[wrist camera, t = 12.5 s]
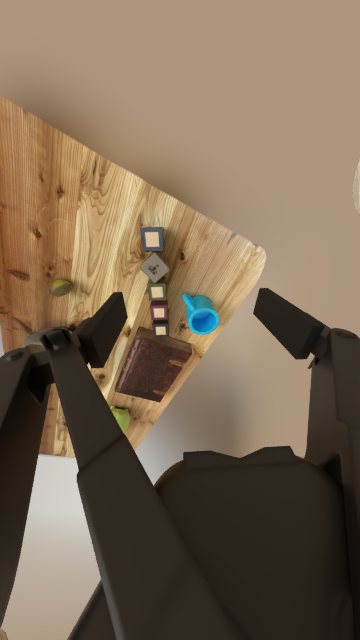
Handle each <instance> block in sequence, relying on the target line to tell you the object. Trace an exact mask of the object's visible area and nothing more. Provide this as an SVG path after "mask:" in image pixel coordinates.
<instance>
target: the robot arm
mask: <svg viewBox="0 0 360 640" xmlns="http://www.w3.org/2000/svg"><path fill="white" fill-rule="evenodd" d="M253 314H254V315H255V316H256V317H257V318H258V319H259V320H260V321H261V322H262V323H263V324H264V326H265V327H266V328H267V329H268V330H269V331H270V332H271V333H272V334H273V335H274V336H275V337H276V338H277V340H278V341H279V342H280V343H281V344H282V345H283V346H284V347H285V348H286V349H287V350H288V351H289V353H290V354H291V355H292V356H293V357H294V358H295V359H307V358H308V356H309V354H310V352H311V353H312V354H313V355H315V357H314V359H313V360H312V362H311V364H310V365H309V367H308V368H309V369H310V368H311V367H312V374H311V390H310V404H309V419H308V434H307V449H306V454H305V457H304V458H301V457H298V456H296V455H295V454H294V453H293V451H292V449H291V447H290V446H278V447H264V448H262V449H260V450H257V451H255V452H253V453H251V454H249V455H247V456H244V457H242V458H236V457H232V456H228V455H225V454H221V453H216V452H213V451H196V452H184V453H183V460H182V461H180V462H177V463H176V464H175V465H173V466H171V467H170V468H169V469H168V470H167V471H165V472H164V473H163V475H162V476H161V477H160V478H159V479H158V481H157V482H156V483H155V485H154V486H153V484H152V483H151V481H150V479H149V477H148V475H147V474H146V472H145V470H144V468H143V466H142V464H141V463H140V461H139V459H138V457H137V455H136V453H135V451H134V450H133V448H132V446H131V444H130V442H129V440H128V439H127V437H126V435H125V434H124V433H123V431H122V429H121V428H120V426H119V424H118V422H117V420H116V418H115V417H114V415H113V413H112V411H111V409H110V407H109V405H108V404H107V402H106V400H105V398H104V396H103V394H102V392H101V391H100V389H99V387H98V385H97V383H96V381H95V380H94V378H93V376H92V374H91V372H90V370H89V368H88V367H87V364H88V362H89V363H90V366H91V368H103V367H104V365H105V363H106V361H107V359H108V357H109V355H110V353H111V351H112V349H113V347H114V345H115V343H116V341H117V338H118V336H119V334H120V332H121V330H122V328H123V326H124V324H125V322H126V320H127V318H128V317H127V312H126V308H125V303H124V298H123V294H122V292H114V293H113V294H112V295H111V296H110V297H109V299H108V300H107V301H106V302H105V303H104V304H103V305H102V307H101V308H100V309H99V310H98V311H97V312H96V313H95V315H94V316H93V317H90V318H87V319H85V320H84V321H82V322H81V324H80V325H79V326H78V327H77V328H76V329H75V330H74V331H73V332H72V333H71V334H70V332H69V330H68V329H67V328H66V327H57V328H53V329H50V330H48V331H46V332H44V333H43V334H42V335H41V336H40V338H39V339H40V341H41V342H42V344H43V346H44V347H45V349H46V351H41V352H37V353H33V352H32V351H31V349H30V348H25V347H23V348H18V349H15V350H12V351H9V352H7V353H6V354H5V355H3V356H2V357H1V358H0V640H8V638H7V635H6V632H5V631H3V630H2V629H1V625H2V622H3V619H4V616H5V612H6V609H7V605H8V602H9V599H10V595H11V592H12V588H13V585H14V580H15V576H16V571H17V567H18V562H19V558H20V553H21V548H22V542H23V536H24V531H25V525H26V520H27V514H28V509H29V503H30V497H31V492H32V487H33V481H34V476H35V470H36V465H37V459H38V454H39V448H40V442H41V437H42V431H43V426H44V420H45V415H46V409H47V404H48V398H49V393H50V387H51V384H53V383H55V384H56V387H57V391H58V395H59V398H60V402H61V405H62V409H63V413H64V416H65V420H66V424H67V427H68V431H69V435H70V438H71V442H72V445H73V449H74V453H75V456H76V460H77V464H78V468H79V472H78V474H77V483H78V488H79V492H80V496H81V500H82V504H83V508H84V512H85V516H86V520H87V524H88V528H89V532H90V536H91V539H92V544H93V548H94V552H95V556H96V560H97V564H98V567H99V571H100V576H101V580H100V582H99V584H98V586H97V587H96V589H95V591H94V593H93V595H92V596H91V598H90V600H89V602H88V603H87V605H86V607H85V609H84V611H83V612H82V614H81V616H80V618H79V619H78V621H77V623H76V625H75V627H74V628H73V630H72V632H71V634H70V635H69V637H68V639H67V640H360V339H359V337H358V336H357V335H356V334H354V333H352V332H350V331H347V330H344V329H339V328H333V329H331V328H329V327H328V326H326V325H325V324H323V323H322V322H320V321H318V320H317V319H315V318H314V317H312V316H311V315H309V314H308V313H305V312H303V311H302V310H301V309H299V308H297V307H296V306H294V305H293V304H291V303H290V302H288V301H287V300H285V299H283V298H282V297H280V296H279V295H277V294H276V293H274V292H273V291H271V290H270V289H268V288H260V289H259V293H258V297H257V301H256V305H255V308H254V313H253Z"/></svg>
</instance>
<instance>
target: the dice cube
mask: <svg viewBox="0 0 360 640" xmlns="http://www.w3.org/2000/svg"><path fill="white" fill-rule="evenodd" d="M139 268H140V269H141V270H142V271H143V272H144V273H145V274H146V275H147V276H148V277H149V278H150V279H151V280H152V281H153V282H154V283H156V282H157V281H158V280H159V279H160V278H161V277H162V276H163V275H164V274H165V273H167V272H168V271H169V270H170V264H169V263H168V262H167V261H166V260H165V259H164V257H163V256H162V255H161V254H160V253H159V252H158V251H154V252H153V253H152V254H151V255H150V256H149V257H148V258H147V259H146V260H145V261H144V262H143V263H142V265H141V266H140V267H139Z"/></svg>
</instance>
